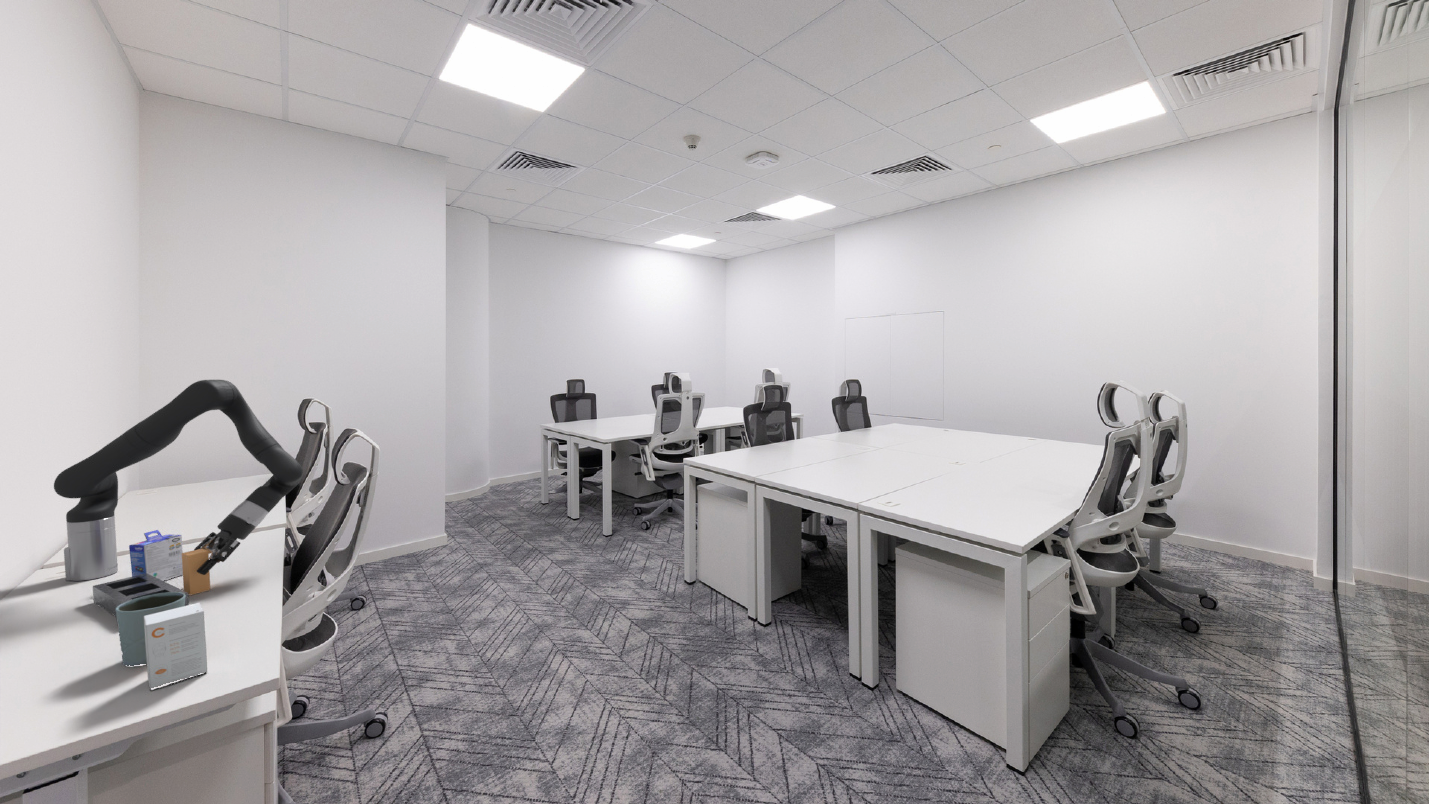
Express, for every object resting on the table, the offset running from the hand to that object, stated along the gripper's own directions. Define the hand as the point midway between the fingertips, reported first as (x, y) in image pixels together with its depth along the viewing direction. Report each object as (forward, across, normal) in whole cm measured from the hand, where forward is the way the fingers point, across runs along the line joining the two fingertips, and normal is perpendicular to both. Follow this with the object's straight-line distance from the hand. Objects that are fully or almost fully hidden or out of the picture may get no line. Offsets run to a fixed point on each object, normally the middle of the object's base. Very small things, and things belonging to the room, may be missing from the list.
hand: (193, 570), depth 145 cm
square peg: (+4, 0, +4) cm, 6 cm away
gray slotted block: (+12, 0, -3) cm, 12 cm away
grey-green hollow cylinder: (+17, +37, -8) cm, 41 cm away
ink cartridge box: (+5, -20, +3) cm, 21 cm away
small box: (+18, +52, -9) cm, 55 cm away
